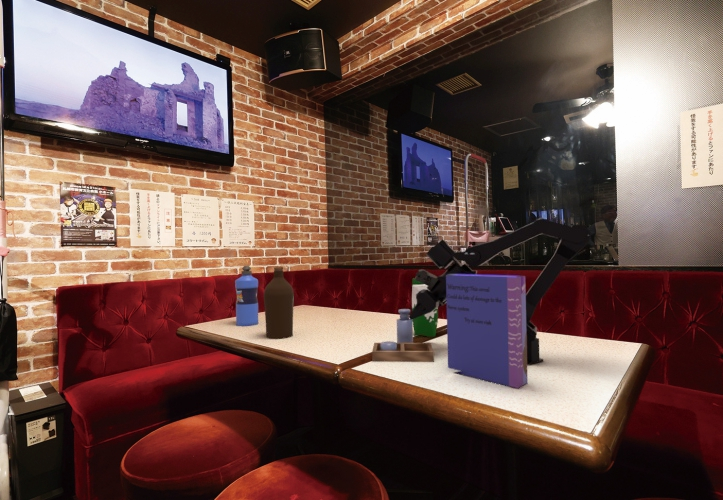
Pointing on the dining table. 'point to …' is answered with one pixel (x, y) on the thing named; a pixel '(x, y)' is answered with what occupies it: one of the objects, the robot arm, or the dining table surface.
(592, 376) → the dining table surface
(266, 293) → the olive oil
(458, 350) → the purple book
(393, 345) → the blue-grey round dome
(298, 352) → the dining table surface
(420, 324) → the milk carton
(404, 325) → the flask
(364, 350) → the dining table surface
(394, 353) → the caddy
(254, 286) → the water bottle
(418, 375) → the dining table surface
